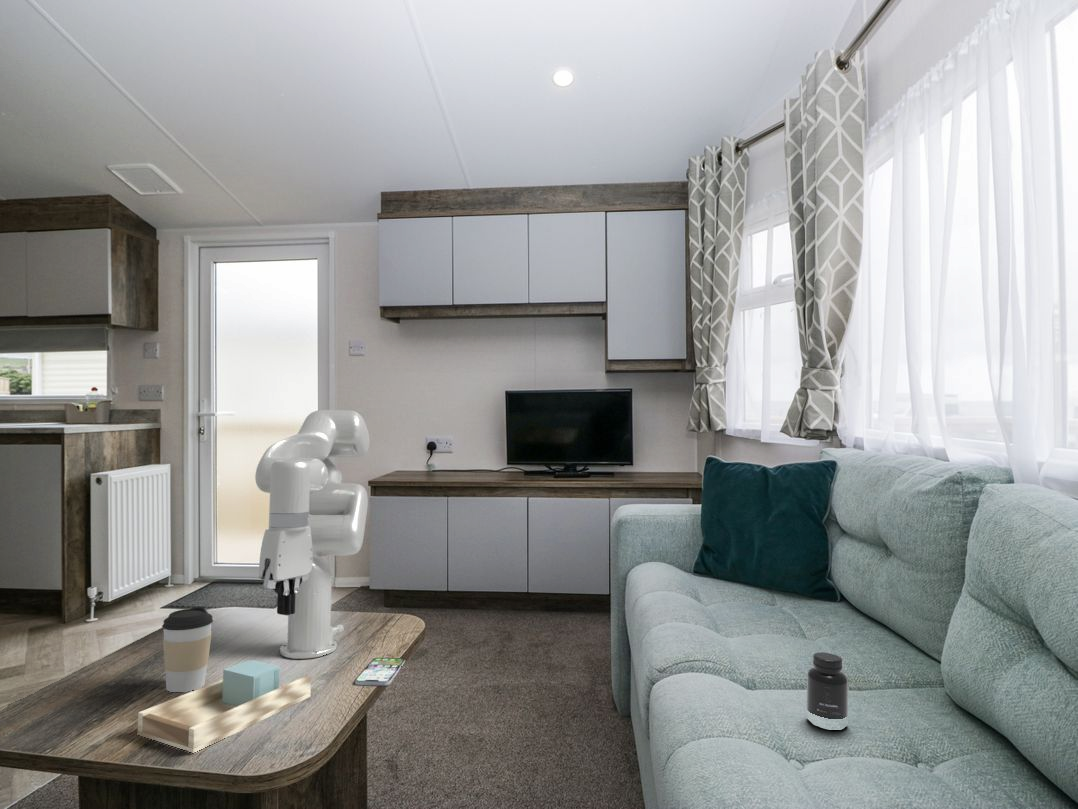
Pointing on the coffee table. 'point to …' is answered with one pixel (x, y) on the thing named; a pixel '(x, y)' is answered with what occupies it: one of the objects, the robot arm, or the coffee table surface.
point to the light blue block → (249, 681)
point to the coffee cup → (186, 648)
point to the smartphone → (380, 671)
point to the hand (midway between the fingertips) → (285, 613)
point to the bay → (213, 714)
